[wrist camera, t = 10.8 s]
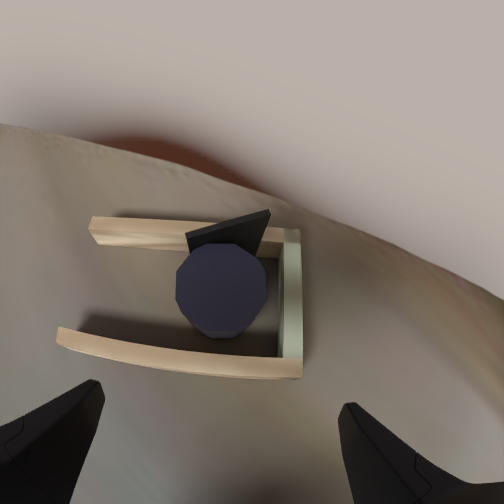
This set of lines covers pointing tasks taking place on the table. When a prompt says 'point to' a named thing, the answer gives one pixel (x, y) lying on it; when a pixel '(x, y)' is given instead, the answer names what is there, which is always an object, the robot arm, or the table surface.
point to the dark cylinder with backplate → (223, 276)
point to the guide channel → (280, 368)
